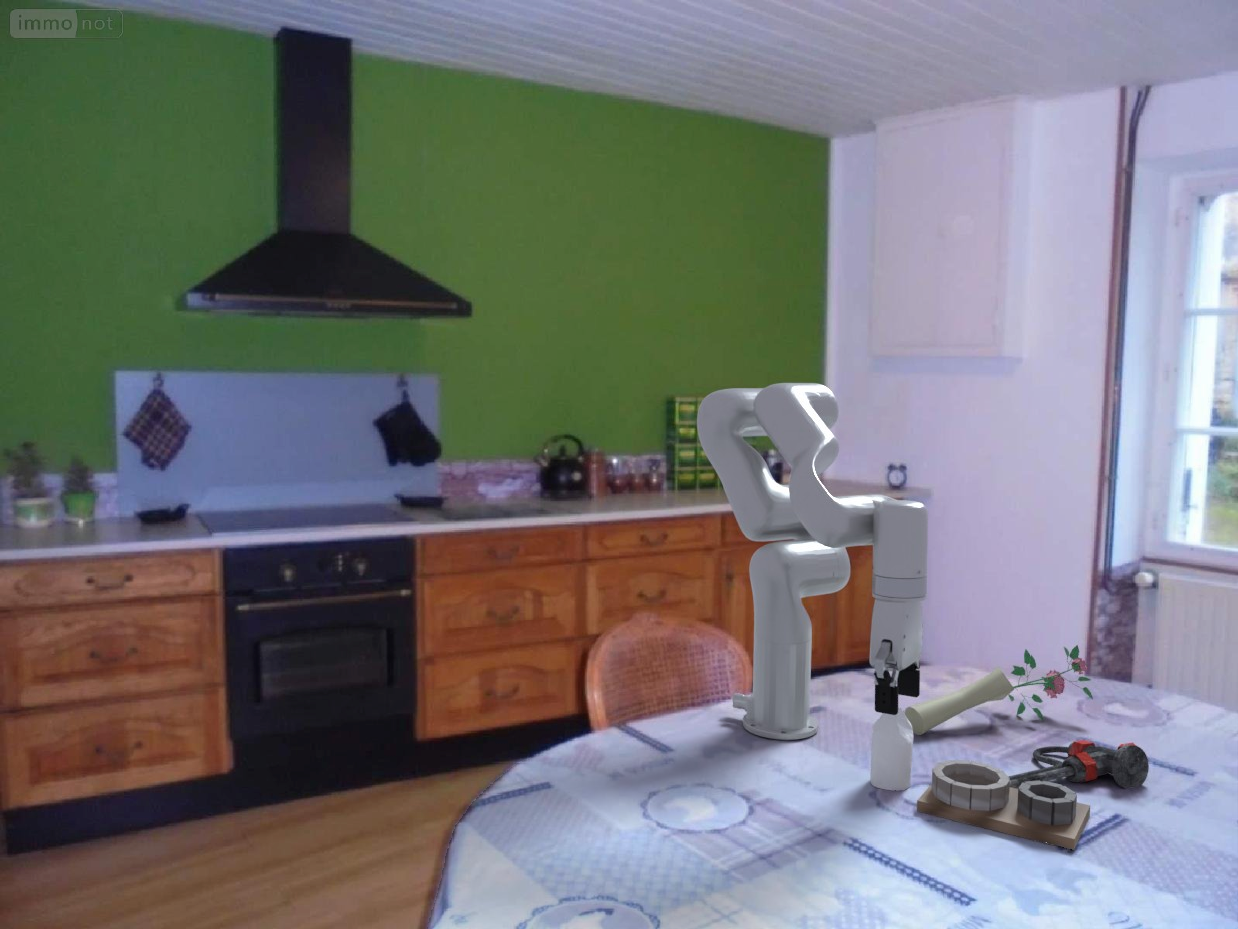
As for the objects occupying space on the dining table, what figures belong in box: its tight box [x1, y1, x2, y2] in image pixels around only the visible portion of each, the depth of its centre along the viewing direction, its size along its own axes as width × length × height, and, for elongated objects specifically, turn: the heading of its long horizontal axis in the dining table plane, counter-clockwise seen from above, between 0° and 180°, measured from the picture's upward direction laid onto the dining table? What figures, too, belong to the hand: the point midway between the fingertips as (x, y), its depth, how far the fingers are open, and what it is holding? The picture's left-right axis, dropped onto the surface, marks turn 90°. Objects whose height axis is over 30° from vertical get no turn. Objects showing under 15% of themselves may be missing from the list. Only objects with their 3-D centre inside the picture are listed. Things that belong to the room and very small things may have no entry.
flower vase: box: [904, 644, 1094, 736], centre depth 175 cm, size 12×12×35 cm
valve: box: [1007, 739, 1150, 789], centre depth 153 cm, size 6×26×15 cm
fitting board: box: [916, 759, 1091, 851], centre depth 139 cm, size 20×12×4 cm, turn 57°
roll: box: [869, 707, 914, 792], centre depth 148 cm, size 6×12×6 cm
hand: (897, 704), depth 147 cm, fingers open, 9 cm apart
